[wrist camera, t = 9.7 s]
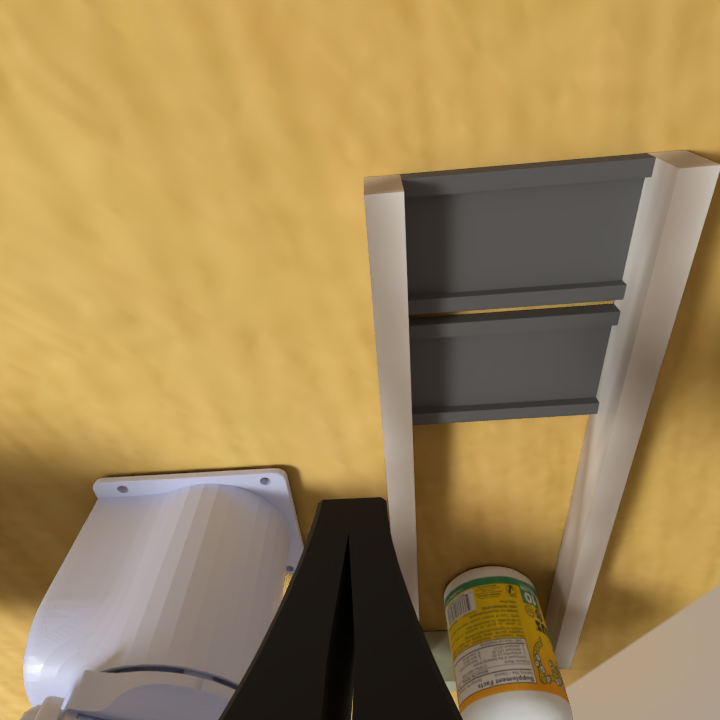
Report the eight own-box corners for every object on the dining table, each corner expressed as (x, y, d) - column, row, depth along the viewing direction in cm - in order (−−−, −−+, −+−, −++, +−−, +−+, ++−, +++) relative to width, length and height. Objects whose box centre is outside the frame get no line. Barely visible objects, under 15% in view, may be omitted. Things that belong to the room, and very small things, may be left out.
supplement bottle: (437, 568, 29) (466, 777, 21) (533, 557, 28) (599, 768, 21) (447, 618, 32) (475, 817, 24) (533, 609, 31) (592, 810, 24)
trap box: (400, 642, 34) (403, 692, 31) (364, 177, 17) (364, 205, 14) (559, 636, 33) (575, 686, 31) (685, 150, 16) (742, 173, 14)
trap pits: (409, 416, 23) (410, 425, 22) (400, 174, 17) (400, 179, 16) (592, 405, 22) (597, 413, 22) (647, 153, 16) (655, 157, 16)
